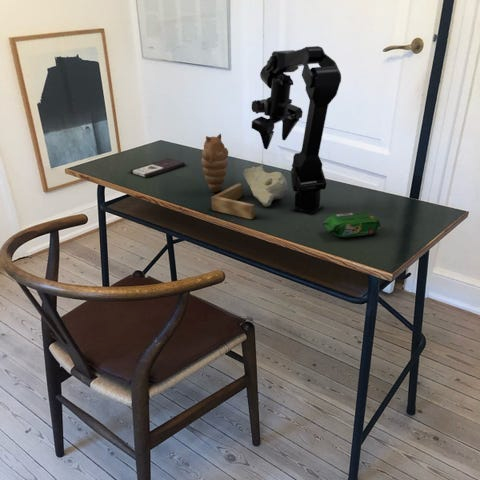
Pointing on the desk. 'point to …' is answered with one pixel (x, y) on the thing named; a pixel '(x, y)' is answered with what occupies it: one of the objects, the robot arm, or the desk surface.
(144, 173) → the chocolate bar
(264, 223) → the desk surface
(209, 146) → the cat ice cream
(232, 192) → the corner stop
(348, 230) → the snack package
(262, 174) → the pale lumpy rock
